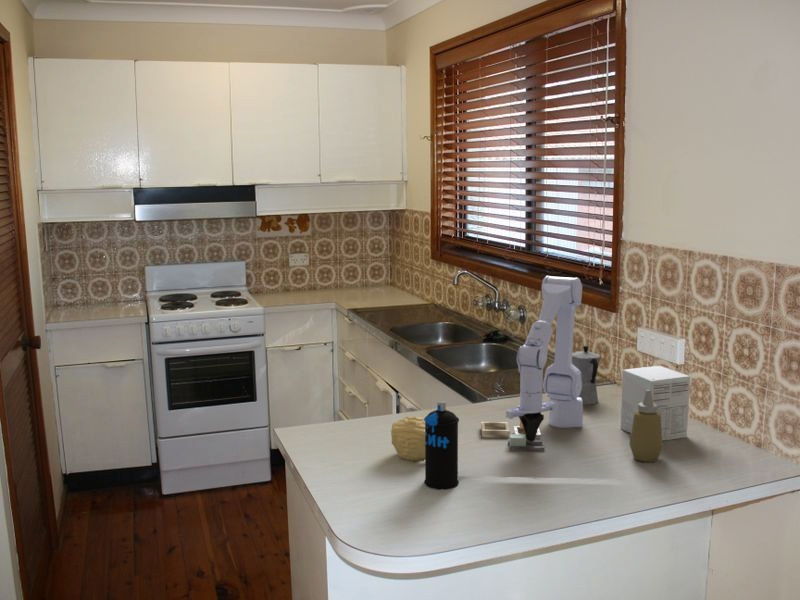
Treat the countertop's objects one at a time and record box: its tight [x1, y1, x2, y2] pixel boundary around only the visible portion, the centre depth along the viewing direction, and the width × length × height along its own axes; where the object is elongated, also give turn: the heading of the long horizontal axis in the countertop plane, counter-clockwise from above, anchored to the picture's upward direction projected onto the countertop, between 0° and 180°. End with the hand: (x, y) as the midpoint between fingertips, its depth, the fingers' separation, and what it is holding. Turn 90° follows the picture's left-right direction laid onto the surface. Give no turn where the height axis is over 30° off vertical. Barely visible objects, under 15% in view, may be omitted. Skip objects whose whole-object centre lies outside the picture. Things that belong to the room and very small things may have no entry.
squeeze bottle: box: [629, 390, 663, 463], centre depth 200 cm, size 8×8×18 cm
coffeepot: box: [572, 345, 601, 406], centre depth 248 cm, size 15×9×18 cm, turn 9°
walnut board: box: [507, 439, 546, 452], centre depth 213 cm, size 17×19×2 cm
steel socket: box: [512, 425, 542, 441], centre depth 214 cm, size 7×7×2 cm
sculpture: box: [390, 416, 425, 462], centre depth 203 cm, size 12×12×11 cm
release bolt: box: [509, 433, 527, 446], centre depth 207 cm, size 4×3×3 cm
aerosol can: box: [423, 400, 460, 490], centre depth 185 cm, size 8×8×20 cm
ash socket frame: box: [480, 421, 511, 439], centre depth 218 cm, size 7×7×2 cm
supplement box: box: [620, 365, 691, 442], centre depth 219 cm, size 13×13×18 cm
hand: (530, 440), depth 207 cm, fingers closed
